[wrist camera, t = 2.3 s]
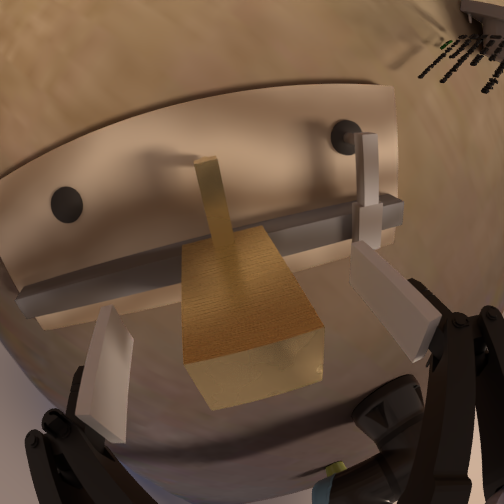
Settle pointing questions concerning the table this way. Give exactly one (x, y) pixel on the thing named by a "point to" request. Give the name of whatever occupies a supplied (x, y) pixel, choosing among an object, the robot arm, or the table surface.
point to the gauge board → (198, 194)
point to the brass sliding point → (243, 310)
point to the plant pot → (335, 468)
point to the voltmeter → (494, 40)
